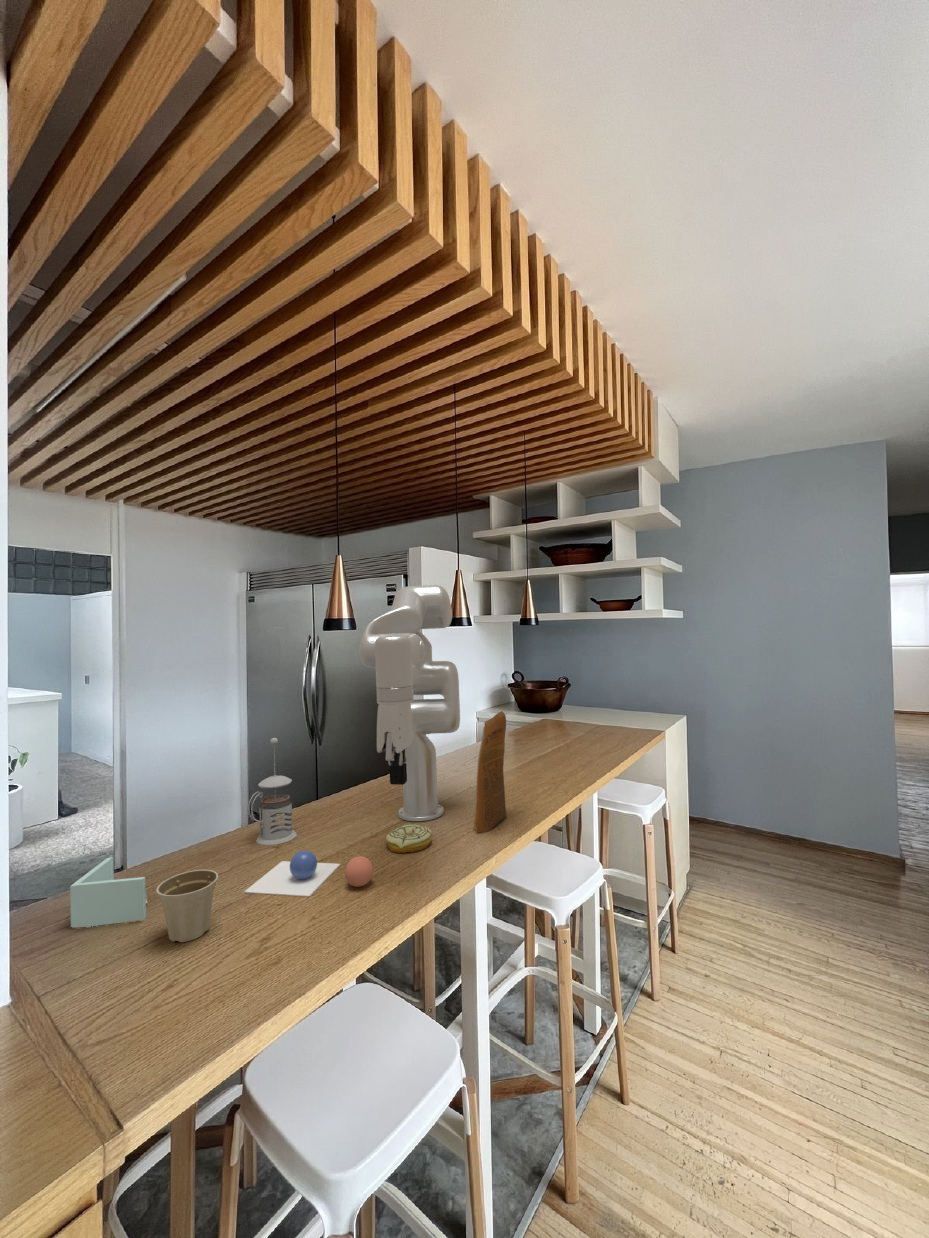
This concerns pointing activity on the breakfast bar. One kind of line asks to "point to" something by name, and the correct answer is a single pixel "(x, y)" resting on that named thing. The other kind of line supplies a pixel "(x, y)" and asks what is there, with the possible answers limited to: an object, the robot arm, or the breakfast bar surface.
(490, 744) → the pancake mix bag
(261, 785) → the french press
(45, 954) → the breakfast bar surface
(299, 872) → the blue ball
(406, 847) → the decorated donut
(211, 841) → the breakfast bar surface
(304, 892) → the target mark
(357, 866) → the pink smooth round ball
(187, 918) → the flower pot
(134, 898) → the right angle wall
